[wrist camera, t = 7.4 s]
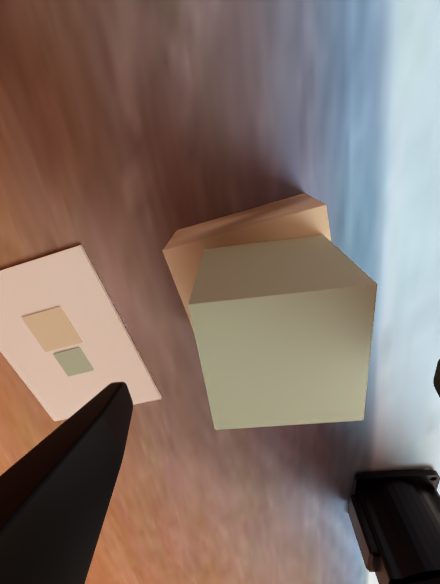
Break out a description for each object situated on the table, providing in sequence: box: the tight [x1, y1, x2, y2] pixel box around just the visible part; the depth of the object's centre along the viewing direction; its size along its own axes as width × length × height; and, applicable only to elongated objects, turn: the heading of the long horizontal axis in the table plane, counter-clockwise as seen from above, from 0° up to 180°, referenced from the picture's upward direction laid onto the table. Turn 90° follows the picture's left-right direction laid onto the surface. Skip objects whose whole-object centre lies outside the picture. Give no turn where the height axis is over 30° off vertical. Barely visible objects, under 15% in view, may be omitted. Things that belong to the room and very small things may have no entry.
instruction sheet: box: [0, 244, 162, 421], centre depth 19 cm, size 9×12×1 cm
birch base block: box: [162, 193, 331, 331], centre depth 15 cm, size 7×7×4 cm
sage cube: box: [188, 234, 377, 430], centre depth 11 cm, size 5×5×5 cm
